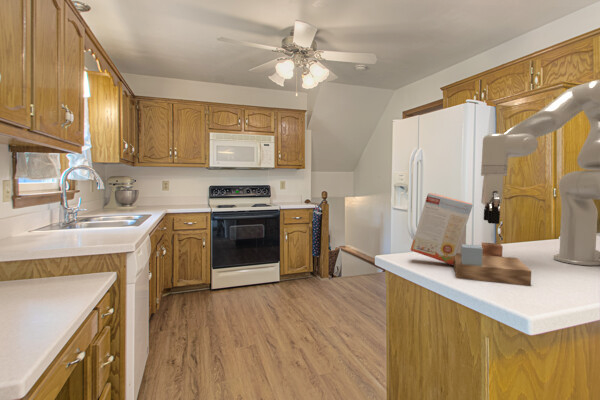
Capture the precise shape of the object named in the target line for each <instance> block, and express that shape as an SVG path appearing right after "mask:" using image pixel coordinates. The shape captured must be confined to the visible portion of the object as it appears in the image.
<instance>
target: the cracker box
mask: <svg viewBox="0 0 600 400" xmlns="http://www.w3.org/2000/svg"><path fill="white" fill-rule="evenodd" d="M473 206H474V204H472V203H471V202H467V201H463V200H459V199H457V198H452V197H448V196H444V195H441V194H436V193H433V192H427V195H426V199H425V202H424V204H423V208H422V211H421V214H420V217H419V221H418V224H417V227H416V231H415V234H414V237H413V240H412V244H411V247H410V251H411V252H415V253H417V254H421V255H422V256H425V257H429V258H431V259H435V260H438V261H440V262H443V263H446V264H448V265H451V266H452V265H453V263H454V255H456V254H457V251H458V248H459V245H460V242H461V239H462V236H463V233H464V230H465V227H466V228H467V224H468V221H469V218H470V214H471V212H472V208H473ZM453 266H454V265H453Z"/></svg>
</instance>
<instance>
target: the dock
mask: <svg viewBox="0 0 600 400" xmlns="http://www.w3.org/2000/svg"><path fill="white" fill-rule="evenodd" d="M453 268H454V269H453V270H454V272H455V278H456V279H464V280H465V279H466V280H473V281H474V280H475V281H480V282H481V281H482V282H492V283H502V284H510V285H518V286H519V285H520V286H527V287H528V286H530V287H531V286H532V285H531V284H532V270H531V269H530V268H528V266H527V265H526V264H524V262H522V261H521V260H520V259H519V258H518V257H509V256H502V257H498V256H486V255H482V266H475V265H464V264H462V262H461V253H457V254H456V255H454V263H453Z"/></svg>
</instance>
